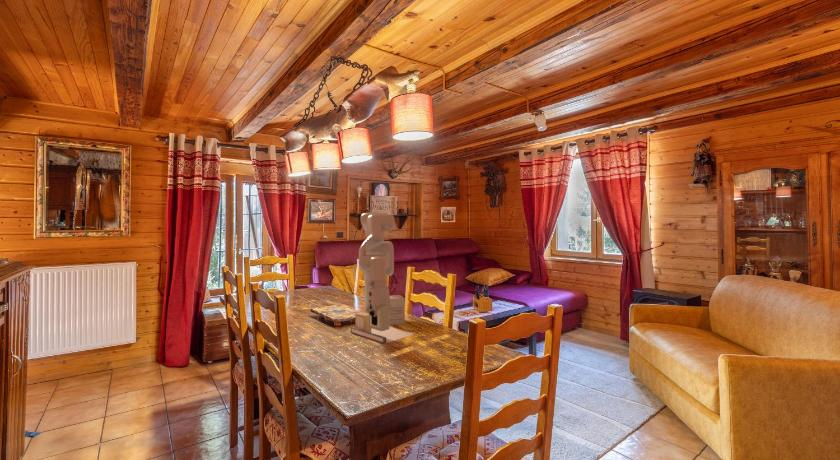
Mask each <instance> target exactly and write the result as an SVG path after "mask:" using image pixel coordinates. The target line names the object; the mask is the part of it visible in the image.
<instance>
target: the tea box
mask: <svg viewBox="0 0 840 460" xmlns="http://www.w3.org/2000/svg"><path fill="white" fill-rule="evenodd" d="M370 310H371V309H370ZM373 313H374V312H373ZM376 317H377V325H372V316H370V314H369V328H372V329H375V330H379V331H385V330H388V329H389V327H390V325H389V305H383V306H379V310H377V313H376Z"/></svg>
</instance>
